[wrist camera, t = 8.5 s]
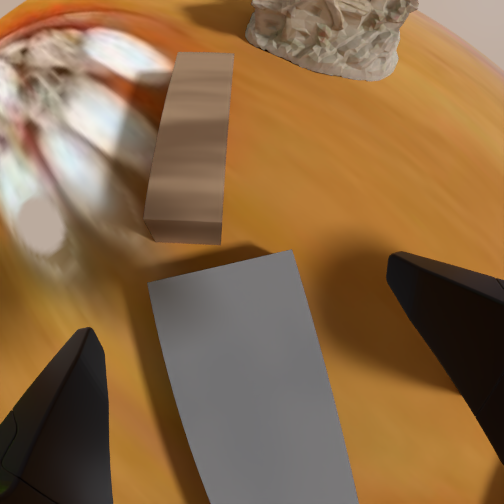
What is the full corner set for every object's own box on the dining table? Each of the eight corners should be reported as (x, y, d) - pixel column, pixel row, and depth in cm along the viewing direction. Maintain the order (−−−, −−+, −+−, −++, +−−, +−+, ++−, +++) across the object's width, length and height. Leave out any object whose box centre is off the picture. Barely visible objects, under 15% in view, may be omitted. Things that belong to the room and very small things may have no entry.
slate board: (351, 512, 15) (363, 524, 14) (235, 547, 14) (237, 563, 12) (284, 258, 20) (291, 249, 18) (154, 289, 18) (147, 282, 17)
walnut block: (221, 222, 16) (234, 53, 20) (142, 219, 16) (178, 52, 19) (220, 246, 20) (231, 90, 24) (156, 243, 20) (181, 88, 23)
